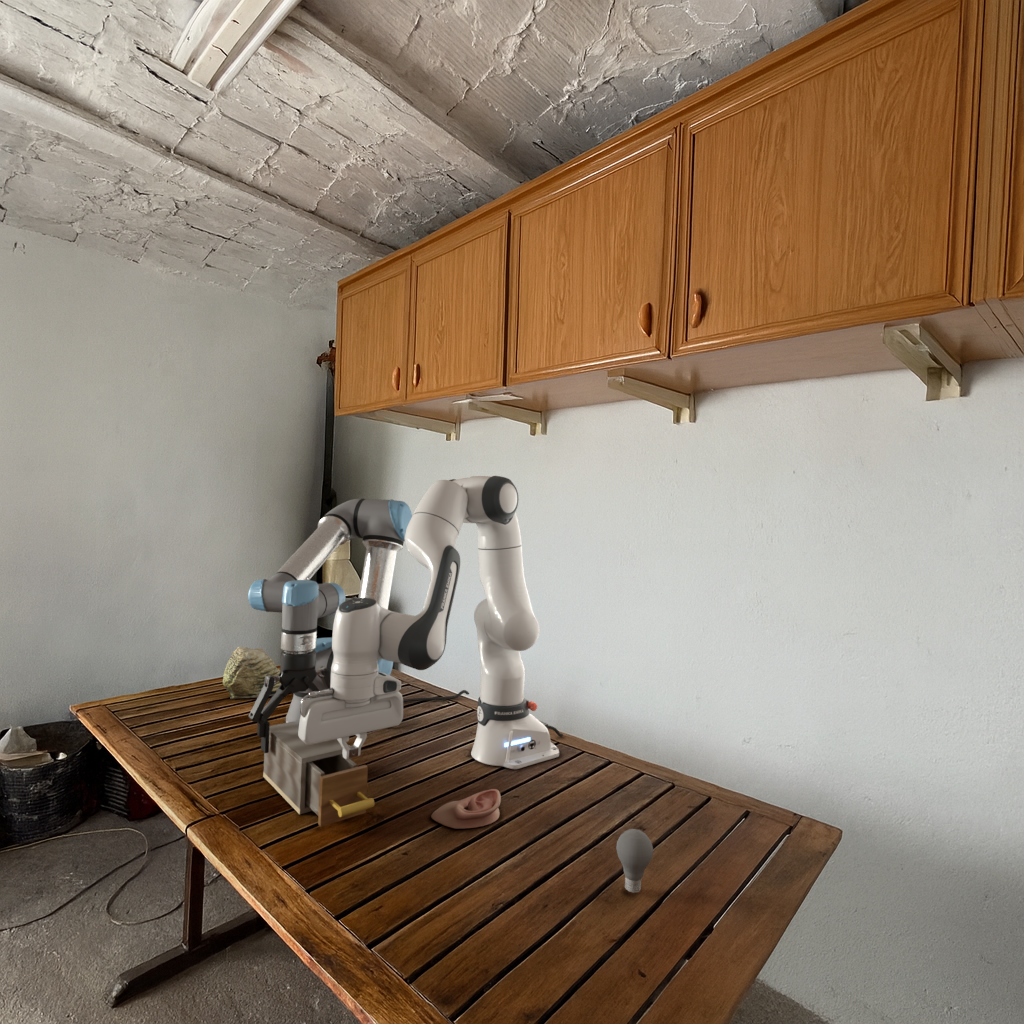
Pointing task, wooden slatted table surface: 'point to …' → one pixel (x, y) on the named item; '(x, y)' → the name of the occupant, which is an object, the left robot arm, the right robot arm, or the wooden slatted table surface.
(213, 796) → the wooden slatted table surface
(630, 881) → the light bulb
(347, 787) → the drawer
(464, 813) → the anatomical model
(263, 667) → the fossil
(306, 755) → the cabinet
